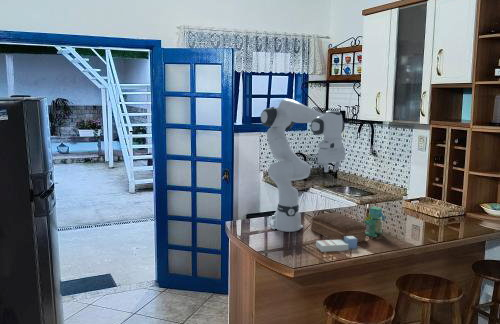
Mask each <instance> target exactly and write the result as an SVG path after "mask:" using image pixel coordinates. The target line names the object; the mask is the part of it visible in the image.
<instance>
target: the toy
mask: <svg viewBox="0 0 500 324" xmlns="http://www.w3.org/2000/svg"><path fill="white" fill-rule="evenodd" d="M385 221H386V216H385V215H384V212H383V208H382V207H377V206H371V207H369V213H367V217H365V220H364V223H365V225H366V226H365V233H366V237H372V238H377V236H378V234H379V235H381V234H382V233H383V222H385Z"/></svg>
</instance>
